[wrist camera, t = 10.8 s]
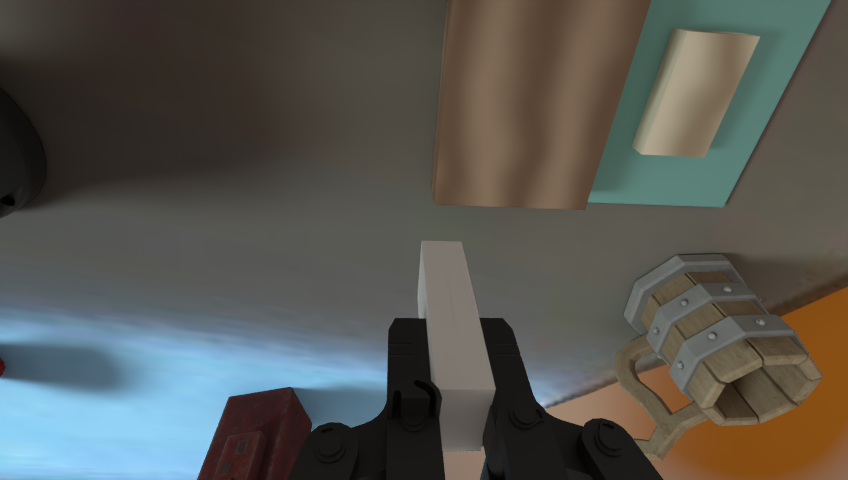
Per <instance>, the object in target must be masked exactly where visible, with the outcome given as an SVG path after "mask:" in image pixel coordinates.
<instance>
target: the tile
mask: <svg viewBox="0 0 848 480" xmlns="http://www.w3.org/2000/svg"><path fill="white" fill-rule="evenodd" d="M759 39H760V37H759V36H755V35H750V34H745V33H736V32H723V31H709V30H696V29H683V28H673V30H672V33H671V36H670V39H669V41H668V44H667V47H666V50H665V53H664V55H663V58H662V61H661V64H660V67H659V70H658V72H657V75H656V78H655V81H654V84H653V86H652V89H651V92H650V95H649V98H648V100H647V103H646V106H645V109H644V112H643V115H642V117H641V120H640V123H639V126H638V129H637V131H636V134H635V137H634V140H633V143H632V146H631V147H633V148H634V149H635V150H637V151H638V152H639V153H640V154H642V155H662V156H683V157H703V158H705V156H706V153H707V151H708V149H709V147H710V145H711V143H712V140H713V138H714V136H715V134H716V132H717V130H718V127H719V125H720V123H721V121H722V119H723V117H724V114H725V112H726V110H727V108H728V106H729V104H730V101H731V99H732V97H733V95H734V93H735V91H736V88H737V86H738V84H739V82H740V80H741V78H742V75H743V73H744V71H745V69H746V67H747V65H748V62H749V60H750V58H751V56H752V54H753V52H754V49H755V47H756V45H757V43H758V41H759Z"/></svg>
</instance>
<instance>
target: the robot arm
mask: <svg viewBox="0 0 848 480" xmlns="http://www.w3.org/2000/svg"><path fill="white" fill-rule="evenodd" d="M45 173H46V163H45V157H44V152H43V149H42V146H41V143H40V141H39V138H38V136H37V134H36V132H35V131H34V129H33V127H32V125H31V124H30V122H29V121H28V119H27V118H26V117H25V115H24V114H23V112H22V111H21V110H20V109H19V108H18V106H17V105H16V104H15V103H14V102H13V101H12V100H11V99H10V98H9V97H8V96H7V95H6V94H5V93H4V92H3V91H2V90H1V89H0V218H2V217H4V216H7V215H9V214H11V213H12V212H14V211H16V210H17V209H19V208H20V207H22V206H23V205H25V204H26V203H28V202H29V201H31V200H32V199H33V198H34V197H35V196H36V195H37V194H38V192H39V191H40V189H41V187H42V185H43V183H44V179H45ZM418 311H419V318H395V320H394V321H393V323H392V325H391V327H390V328H389V333H388V372H387V401H386V405H385V407H384V409H383V410H382V412H381V413H380V414H379V415H378V416H377V417H376V418H374V419H373V420H371V421H369V422H367V423H365V424H362V425H359V426H356V427H353V428H350V427H349V426H347V425H344V424H342V423H331V422H330V423H327V424H324V425H320V426H318V427H317V428H316V429H314V430H313V431H312V432H310V434H309V435H308V437H307V438H306V439H305V441H304V443H303V445H302V447H301V449H300V452H299V454H298V456H297V458H296V461H295V463H294V465H293V467H292V469H291V472H290V474H289V476H288V478H287V480H445V473H444V462H443V452H444V451H480V450H481V447H482V443H483V444H484V449H485V455H486V458H485V462H484V466H483V470H482V473H481V478H480V480H663V479H662V477H661V476H660V475H659V473H658V472H657V471H656V469H655V468H654V466H653V465H652V464H651V462H650V461H649V460H648V458H647V457H646V456H645V454H644V453H643V452H642V450H641V449H640V448H639V446H638V445H637V444H636V442H635V441H634V440H633V438H632V437H631V436H630V435H629V434H628V433H627V431H626V430H625V429H624V428H622V427H621V426H619V425H618V424H616V423H614V422H612V421H609V420H606V419H603V418H600V419H592V420H590V421H588V422H586V423H585V425H584V427H583V426H579V425H576V424H573V423H569V422H566V421H562V420H560V419H557V418H555V417H553V416H551V415H550V414H548V413H547V412H546V411H545V409H544V408H543V407H542V406H541V405H540V404H539V403H538V402H537V401H536V400H535V397H534V395H533V392H532V389H531V386H530V383H529V380H528V377H527V374H526V370H525V367H524V364H523V361H522V358H521V356H520V351H519V348H518V345H517V342H516V339H515V336H514V332H513V330H512V328H511V327H510V326H509V325H508V324H507V323H506V321H505V320H504V319H503V318H479V315H478V311H477V306H476V302H475V298H474V294H473V289H472V285H471V281H470V277H469V272H468V268H467V264H466V259H465V255H464V251H463V247H462V242H451V241H422V244H421V257H420V271H419V284H418Z"/></svg>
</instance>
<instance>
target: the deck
mask: <svg viewBox="0 0 848 480" xmlns="http://www.w3.org/2000/svg"><path fill="white" fill-rule="evenodd" d="M650 3H651V0H447V7H446V18H445V30H444V42H443V53H442V65H441V77H440V88H439V100H438V112H437V123H436V135H435V147H434V158H433V170H432V182H431V187H432V193H433V200H434V205H462V206H490V207H518V208H546V209H574V210H585V208H586V205H587V202H588V199H589V195H590V192H591V189H592V186H593V183H594V180H595V176H596V173H597V170H598V167H599V164H600V161H601V158H602V154H603V151H604V148H605V145H606V142H607V139H608V136H609V132H610V129H611V126H612V123H613V120H614V117H615V113H616V110H617V107H618V104H619V101H620V98H621V95H622V91H623V88H624V85H625V82H626V79H627V76H628V73H629V69H630V66H631V63H632V60H633V57H634V54H635V50H636V47H637V44H638V41H639V38H640V35H641V32H642V28H643V25H644V22H645V19H646V16H647V13H648V10H649V6H650Z"/></svg>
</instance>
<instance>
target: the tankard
mask: <svg viewBox="0 0 848 480" xmlns="http://www.w3.org/2000/svg"><path fill="white" fill-rule="evenodd" d="M623 315H624V317H625V318H626V320H627V321H628V323H629V324H630V325H631V326H632V327H633V328H634V329H635V330H636V331H638V332H639V333H640V334H641V335H642V336H640V337H638V338H636V339H634V340H632V341H631V342H629V343H628V344H627V345H626V346H625V347H623V348H622V349H621V350H620V351H618V352H617V353H616V369H615V374H616V376H617V378H618V381H619V383H620V385H621V387H622V389H623V390H624V391H625V392H627V393H628V394H629V395H630V396H631V397H632V398H634V399H635V400H636V401H637V402H638V403H639V404H641V405H642V406H643V408H644V409H645V411H646V412H647V414H648V415H649V416H650V418H651V419H652V421H653V422H654V424H655V425H656V429H655V430H654V432H653V434H652V436H651V437H650V439H649V440H642V439H633V440H634V441H635V442H636V444H637V445H638V446H639V448H640V449H641V450H642V452H643V453H644V454H645V456H646V457H647V458H648V459H651V460H659V461H662V460H663V459H664V457H665V456H666V454H667V453H668V452H669V450H670V449H671V447H672V446H673V444H674V443H675V442H676V441H677V440H678V438H679V437H680V436H681V435H682V434H683V433H684V432H685V431H686V429H688V428H690V427H693V426H695V425H697V424H699V423H701V422H704V421H706V420H708V419H711V420H713V422H715V423H716V424H717V425H721V426H731V425H753V424H757V422H758V421H759V422H760V423H763V422H765V421H768V420H770V419H772V418H774V417H776V416H779V415H781V414H783V413H785V412H787V411H790V410H792V409H794V408H796V407H798V406H799V405H798V404H797V403H799V404H802V403H803V402H804V401H805V400H806V398H807V397H808V396H809V395H810V393H811V392H812V391H813V390H814V388H815V387H816V386H817V385H818V383H819V382H820V381H821V380H822V376H823V374H822V373H821V372H820V370H819V369H818V367H817V366H816V364H815V363H814V361H813V360H812V358H811V357H810V356H809V352H808V351H807V350H806V348H805V347H804V345H803V344H802V342H801V341H800V339H799V338H798V337H797V332H796V331H794V330H793V329H792V328H790V327H789V326H788V325H787V324H786V323H785V322H784V321H783V320H782V319H781V318H780V317H779V316H778V315H777V314H774V315H770V314H769V313H768V312H767V310H766V309H765V307H764V306H763V305H762V300H761V298H759V297H757V296H756V295H755V294H754V293H753V292H752V291H751V290H750V289H749V288H748V287H747V285H746V283H745V282H744V281H743V279H742V278H741V276H740V275H739V274H738V272H737V271H736V269H735V268H734V267H733V265H732V264H731V262H730V261H729V260H728V259H727V258H726V257H725V256H723V255H722V254H703V255H676V256H674V257H673V258H671V259H670V260H668V261H667V262H665V263H664V264H662V265H660V266H659V267H657V268H656V269H654V270H653V271H651V272H650V273H648V274H646V275H645V276H643V277H642V278H640V279H639V280H637V281H636V282H635V284H634V287H633V290H632V292H631V295H630V298H629V301H628V303H627V306H626V309H625V312H624V314H623ZM654 351H655V352H656V353H657V356H658V357H659V358H662V359H663V360H664V361H665V362H666V363H667V364H668V365H669V366H670V367H671V369H670V371H669V374H670V376H671V377H672V379H673V380H674V382H675V383H676V385H677V386H678V388H679V389H680V391H681V392H682V393H684V394H685V395H686V396H687V397H688V398H689V399H691V400H692V401H693V403H691V404H689V405H687V406H686V407H684V408H682V409H680V410H678V411H676V412H675V413H672V412H671V411H670V409H669V408H668V407H667V405H666V404H665V403H664V401H663V400H662V399H661V398H660V397H659V396H658V395H657V394H656V393H655V392H653V391H652V390H651V389H649V388H648V387H647V386H646V385H645V384H643V383H642V382H641V381H640V380H639V378H638V376H637V374H636V372H635V362H636V361H638V360H639V359H640V358H641V357H642V356H644V355H647V354H649V353H651V352H654Z"/></svg>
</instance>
